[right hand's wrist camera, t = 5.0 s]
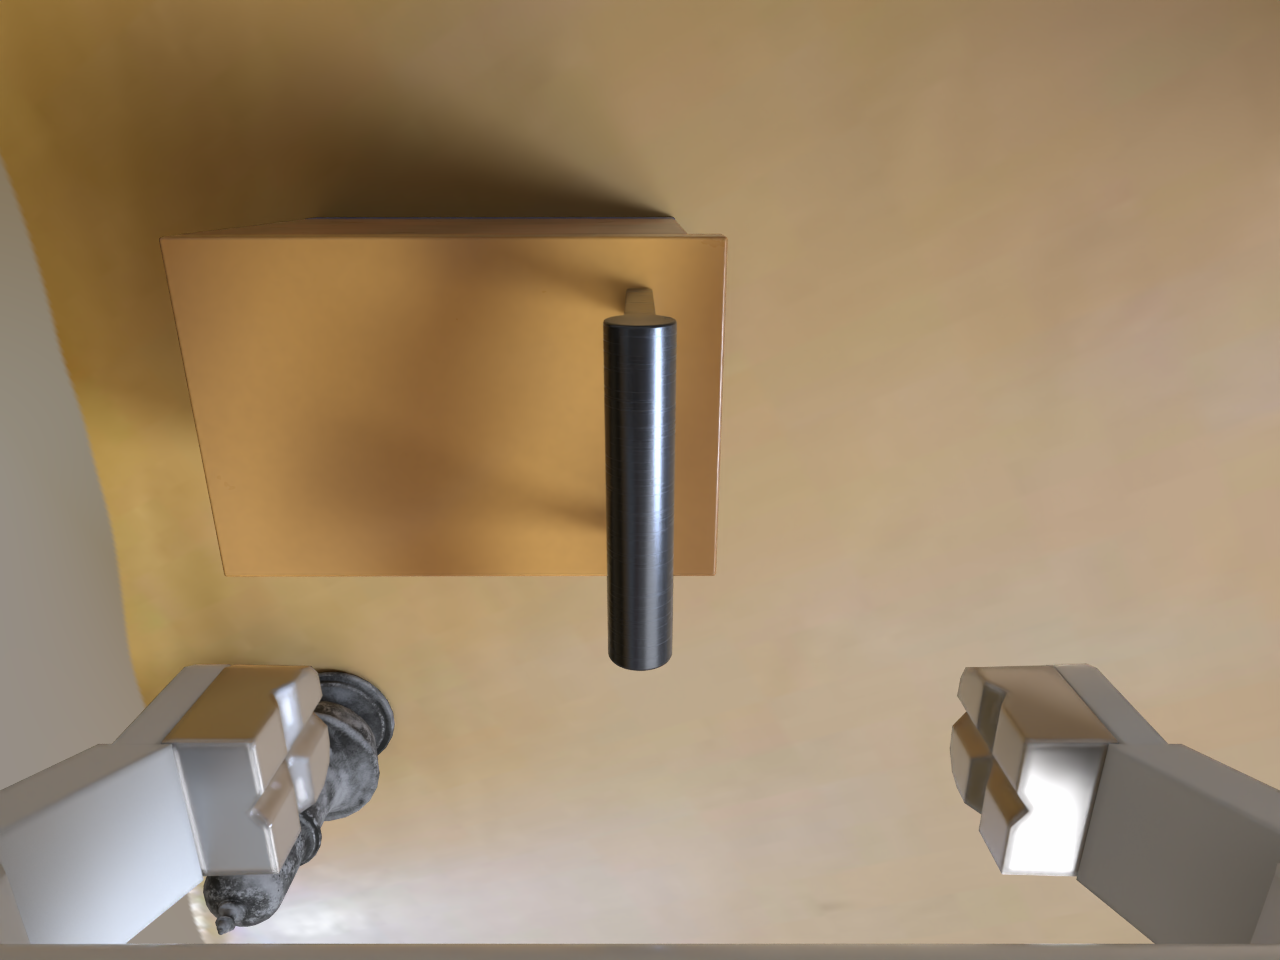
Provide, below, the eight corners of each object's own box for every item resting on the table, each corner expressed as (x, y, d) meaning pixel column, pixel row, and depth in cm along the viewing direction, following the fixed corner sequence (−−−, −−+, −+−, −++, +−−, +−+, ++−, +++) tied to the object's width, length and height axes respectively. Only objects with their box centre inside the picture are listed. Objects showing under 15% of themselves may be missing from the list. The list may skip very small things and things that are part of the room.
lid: (723, 233, 22) (766, 261, 15) (713, 560, 26) (743, 716, 18) (179, 234, 22) (-51, 262, 15) (240, 561, 26) (78, 717, 18)
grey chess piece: (317, 783, 41) (195, 1013, 30) (253, 691, 39) (97, 899, 28) (422, 745, 40) (337, 966, 29) (362, 649, 38) (246, 845, 27)
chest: (673, 216, 32) (688, 233, 22) (670, 457, 35) (682, 559, 26) (316, 217, 32) (179, 233, 22) (347, 458, 35) (241, 561, 26)
